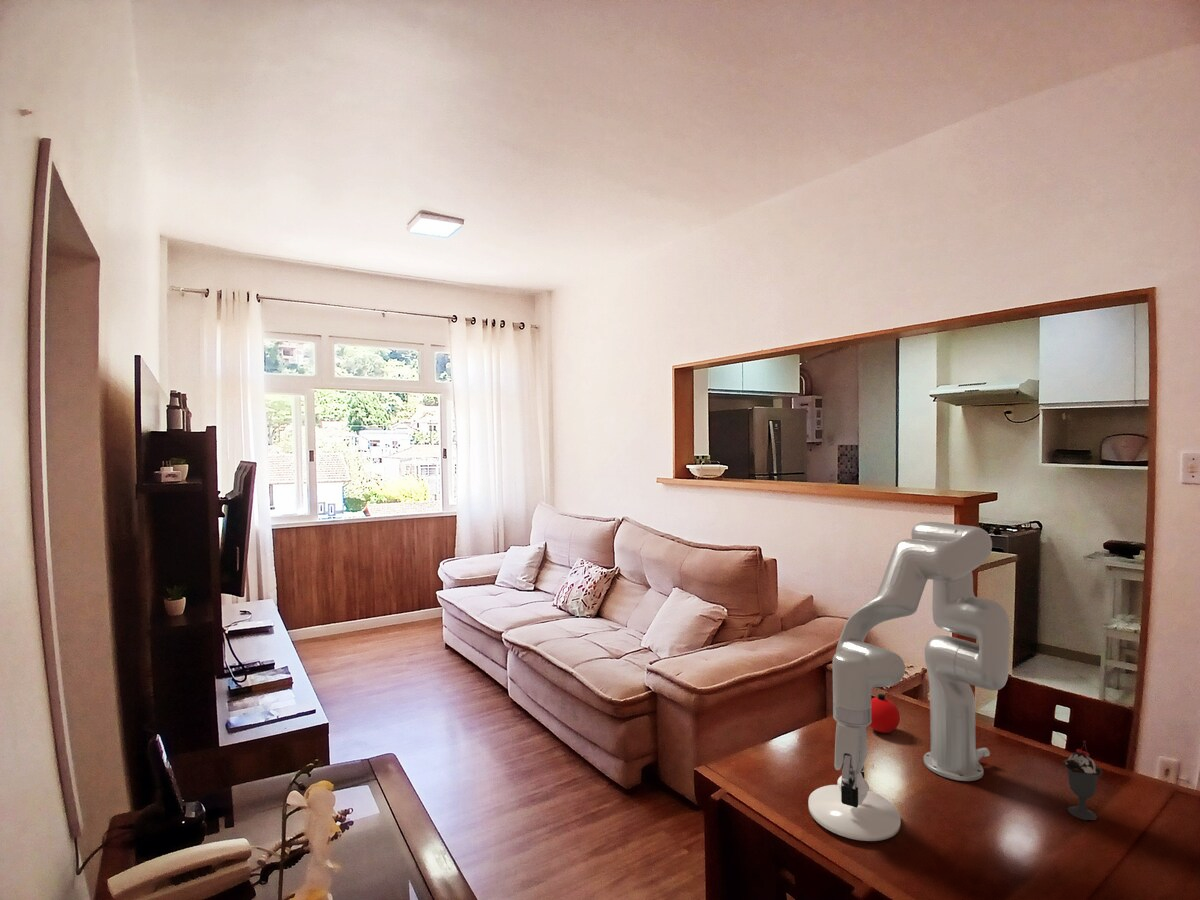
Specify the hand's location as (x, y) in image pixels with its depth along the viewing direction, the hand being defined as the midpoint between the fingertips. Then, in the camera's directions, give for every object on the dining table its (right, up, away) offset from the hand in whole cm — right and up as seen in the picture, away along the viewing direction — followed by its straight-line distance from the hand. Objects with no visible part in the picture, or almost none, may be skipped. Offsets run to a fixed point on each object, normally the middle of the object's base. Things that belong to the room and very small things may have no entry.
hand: (853, 796), depth 130 cm
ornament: (+24, -4, +38) cm, 45 cm away
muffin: (0, -1, 0) cm, 1 cm away
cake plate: (0, -4, 0) cm, 4 cm away
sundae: (+48, -4, 0) cm, 49 cm away
